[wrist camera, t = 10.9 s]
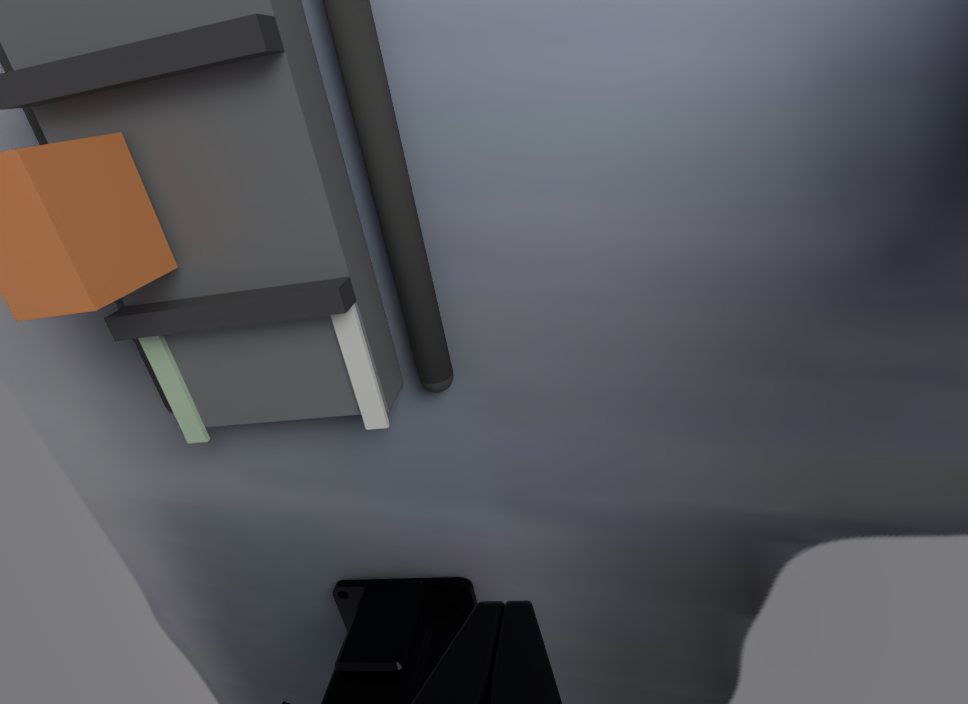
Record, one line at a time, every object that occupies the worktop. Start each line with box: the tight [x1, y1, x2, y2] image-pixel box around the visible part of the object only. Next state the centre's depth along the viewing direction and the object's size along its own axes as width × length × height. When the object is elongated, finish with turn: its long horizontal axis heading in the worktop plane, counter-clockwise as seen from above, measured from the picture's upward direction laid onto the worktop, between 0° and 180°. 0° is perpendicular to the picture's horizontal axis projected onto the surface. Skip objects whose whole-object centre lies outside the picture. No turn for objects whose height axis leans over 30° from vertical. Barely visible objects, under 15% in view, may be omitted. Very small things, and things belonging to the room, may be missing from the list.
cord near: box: [323, 0, 453, 393], centre depth 17 cm, size 16×1×1 cm, turn 10°
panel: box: [0, 0, 404, 443], centre depth 18 cm, size 16×8×3 cm, turn 10°
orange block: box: [0, 132, 178, 321], centre depth 16 cm, size 4×2×4 cm, turn 10°
